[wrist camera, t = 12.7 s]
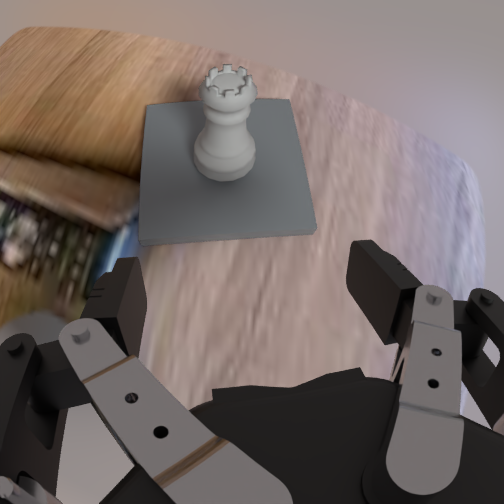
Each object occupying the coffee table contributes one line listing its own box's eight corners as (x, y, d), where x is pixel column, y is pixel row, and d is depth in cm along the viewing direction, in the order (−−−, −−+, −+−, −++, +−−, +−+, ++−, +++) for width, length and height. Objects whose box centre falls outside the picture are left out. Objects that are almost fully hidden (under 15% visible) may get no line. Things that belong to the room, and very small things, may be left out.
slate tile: (142, 246, 22) (138, 240, 21) (149, 114, 25) (147, 105, 24) (312, 234, 23) (317, 228, 22) (286, 108, 27) (289, 99, 26)
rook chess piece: (257, 138, 24) (272, 59, 16) (252, 188, 22) (268, 111, 15) (199, 132, 24) (195, 51, 16) (188, 181, 22) (178, 102, 15)
